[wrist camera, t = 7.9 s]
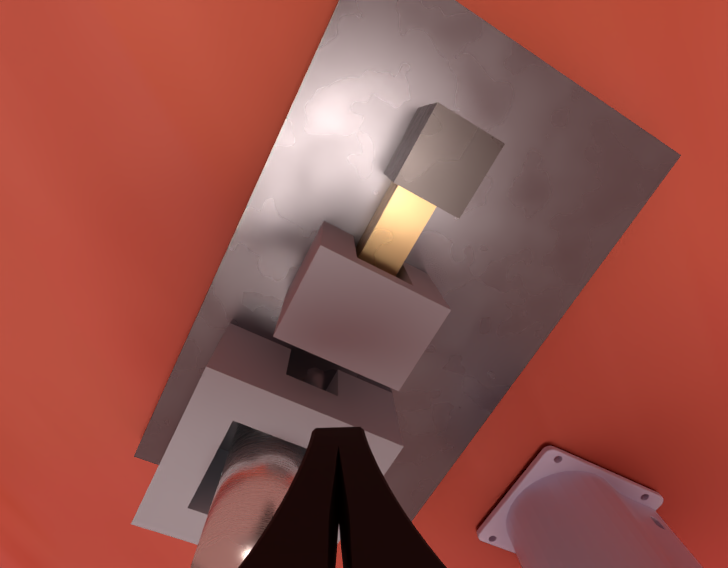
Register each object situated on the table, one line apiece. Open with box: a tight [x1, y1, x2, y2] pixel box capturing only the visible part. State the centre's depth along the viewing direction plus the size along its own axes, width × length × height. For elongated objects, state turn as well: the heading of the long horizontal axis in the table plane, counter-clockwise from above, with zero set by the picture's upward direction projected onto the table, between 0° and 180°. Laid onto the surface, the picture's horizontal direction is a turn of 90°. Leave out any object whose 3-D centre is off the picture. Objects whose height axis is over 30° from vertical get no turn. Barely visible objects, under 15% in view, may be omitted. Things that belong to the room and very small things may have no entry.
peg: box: [191, 423, 307, 568], centre depth 19 cm, size 4×4×8 cm
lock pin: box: [355, 102, 505, 277], centre depth 18 cm, size 3×11×4 cm, turn 152°
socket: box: [131, 323, 404, 545], centre depth 21 cm, size 9×9×4 cm
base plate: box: [134, 0, 681, 521], centre depth 21 cm, size 16×26×1 cm, turn 151°
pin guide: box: [273, 221, 451, 391], centre depth 18 cm, size 6×4×4 cm
